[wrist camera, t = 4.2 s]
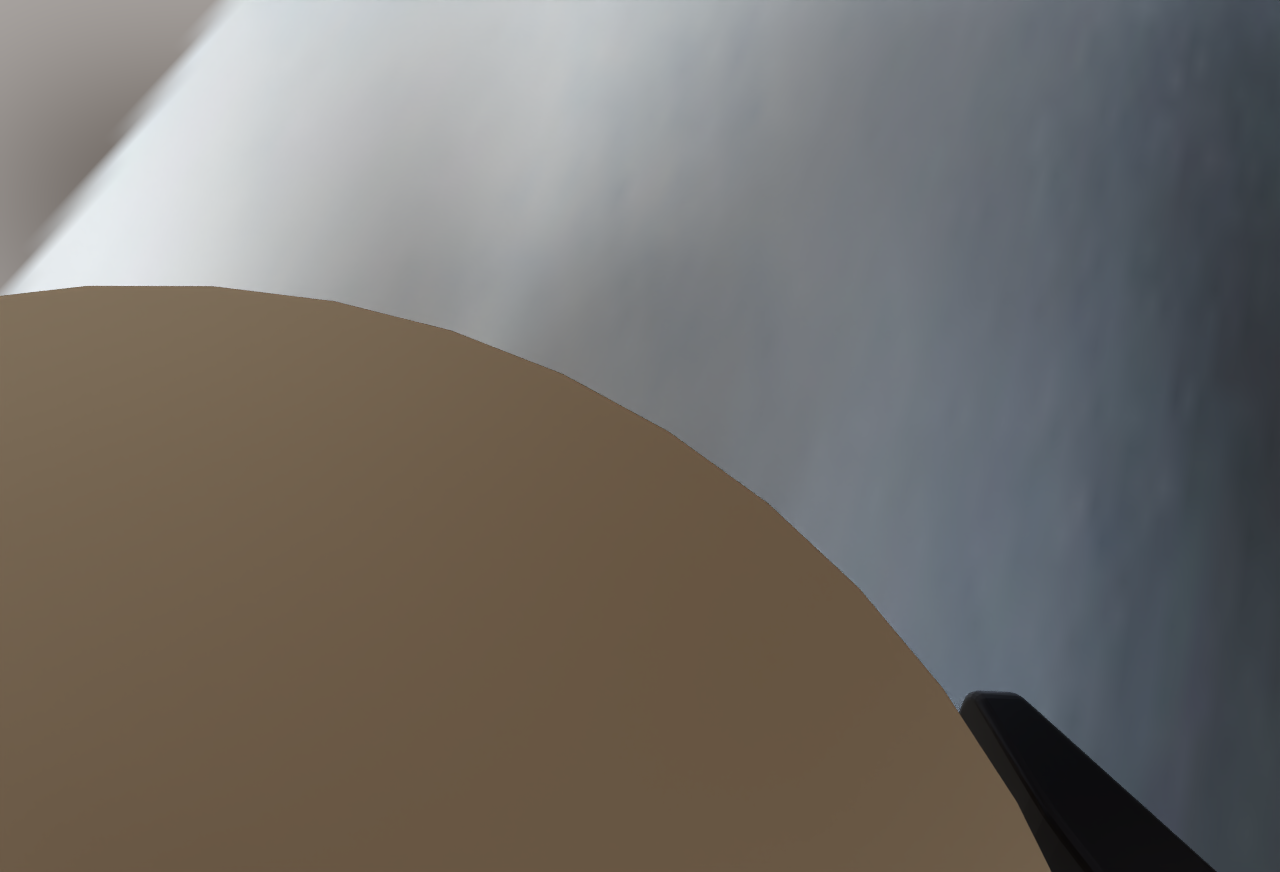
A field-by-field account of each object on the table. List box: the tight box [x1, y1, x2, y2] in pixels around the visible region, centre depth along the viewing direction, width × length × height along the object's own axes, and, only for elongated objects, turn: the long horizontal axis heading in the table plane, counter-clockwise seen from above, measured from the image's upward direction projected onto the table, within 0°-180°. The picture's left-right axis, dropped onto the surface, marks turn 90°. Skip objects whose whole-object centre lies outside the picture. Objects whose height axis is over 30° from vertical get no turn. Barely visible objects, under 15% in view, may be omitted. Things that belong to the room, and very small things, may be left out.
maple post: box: [0, 286, 1051, 872], centre depth 8 cm, size 5×5×13 cm
